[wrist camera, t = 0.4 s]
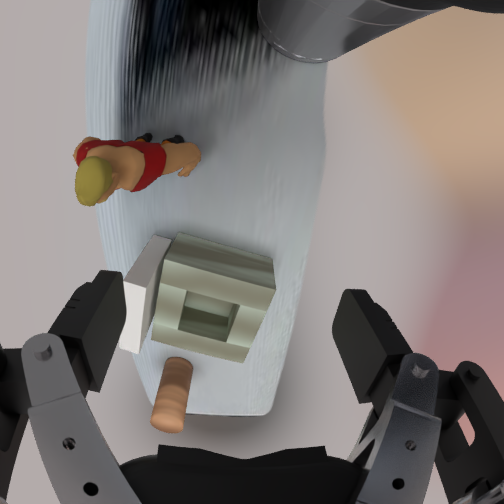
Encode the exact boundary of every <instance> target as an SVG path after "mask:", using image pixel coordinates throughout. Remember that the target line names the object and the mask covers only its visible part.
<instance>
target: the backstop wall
mask: <svg viewBox="0 0 504 504" xmlns="http://www.w3.org/2000/svg"><path fill="white" fill-rule="evenodd" d="M171 242H172V240H171V239H168V238H164V237H161V236H157V235H153V237H152V238H151V239H150V241H149V242H148V244H147V245H146V247H145V248H144V250H143V251H142V253H141V254H140V256H139V257H138V259H137V260H136V262H135V263H134V265H133V266H132V268H131V269H130V271H129V272H128V274H127V275H126V277H125V278H124V280H123V283H124V292H125V300H126V308H127V315H126V322H125V325H124V328H123V330H122V333H121V335H120V348H121V349H124V350H127V351H130V352H133V353H137V354H139V353H140V350H141V348H142V345H143V342H144V340H145V337H146V335H147V332H148V329H149V327H150V324H151V322H152V319H153V317H154V314H155V309H156V303H157V297H158V291H159V286H160V280H161V274H162V269H163V264H164V259H165V257H166V255H167V253H168V251H169V249H170V247H171Z"/></svg>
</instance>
